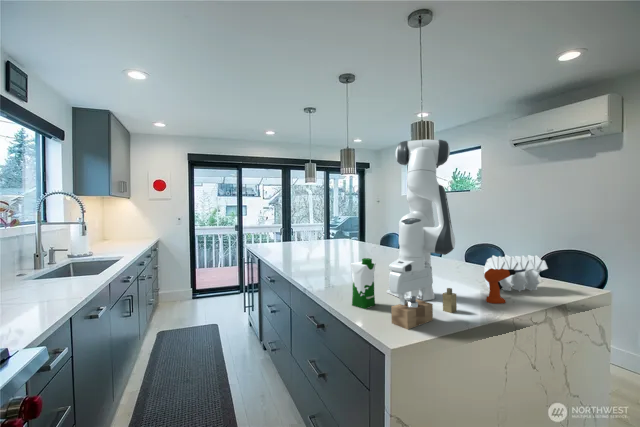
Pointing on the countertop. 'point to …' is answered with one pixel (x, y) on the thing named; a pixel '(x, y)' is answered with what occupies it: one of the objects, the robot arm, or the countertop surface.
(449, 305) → the square bit
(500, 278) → the toy drill
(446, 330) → the countertop surface
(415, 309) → the socket block
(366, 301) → the milk carton
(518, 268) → the spiral staircase
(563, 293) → the countertop surface
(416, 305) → the cylinder
